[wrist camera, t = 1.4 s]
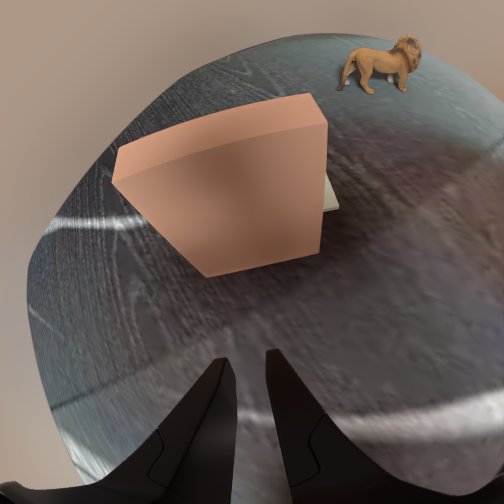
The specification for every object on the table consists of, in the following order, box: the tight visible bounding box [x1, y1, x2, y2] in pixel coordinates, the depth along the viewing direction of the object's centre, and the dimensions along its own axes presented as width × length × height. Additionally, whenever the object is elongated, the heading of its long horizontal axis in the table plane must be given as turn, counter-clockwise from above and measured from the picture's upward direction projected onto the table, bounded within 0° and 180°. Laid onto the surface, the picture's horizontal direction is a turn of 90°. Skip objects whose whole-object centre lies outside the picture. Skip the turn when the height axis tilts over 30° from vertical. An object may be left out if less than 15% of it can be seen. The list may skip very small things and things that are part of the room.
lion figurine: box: [338, 35, 422, 94], centre depth 27 cm, size 15×5×9 cm, turn 109°
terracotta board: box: [112, 93, 328, 278], centre depth 18 cm, size 2×10×14 cm, turn 99°
